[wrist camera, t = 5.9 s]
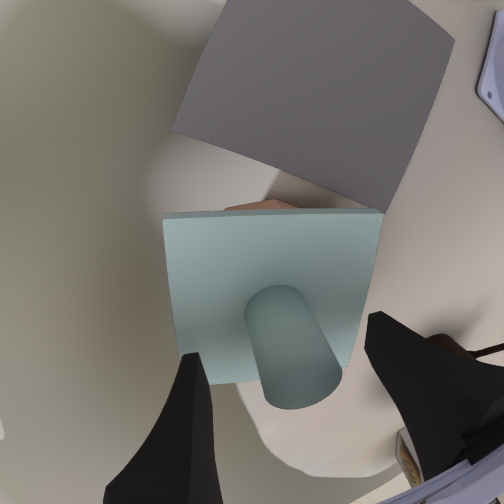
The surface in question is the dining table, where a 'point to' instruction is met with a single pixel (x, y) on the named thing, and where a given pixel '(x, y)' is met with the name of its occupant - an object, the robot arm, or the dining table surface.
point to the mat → (320, 89)
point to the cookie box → (413, 461)
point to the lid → (271, 294)
